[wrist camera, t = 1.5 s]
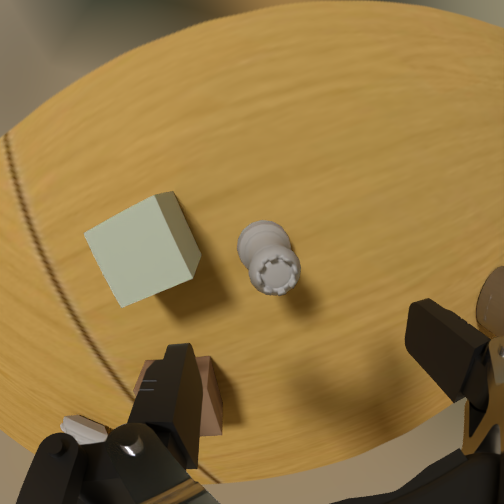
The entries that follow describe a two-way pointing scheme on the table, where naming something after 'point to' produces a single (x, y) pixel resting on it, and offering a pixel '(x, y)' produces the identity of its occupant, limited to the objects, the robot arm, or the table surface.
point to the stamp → (83, 429)
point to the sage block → (145, 249)
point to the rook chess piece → (268, 257)
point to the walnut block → (211, 396)
